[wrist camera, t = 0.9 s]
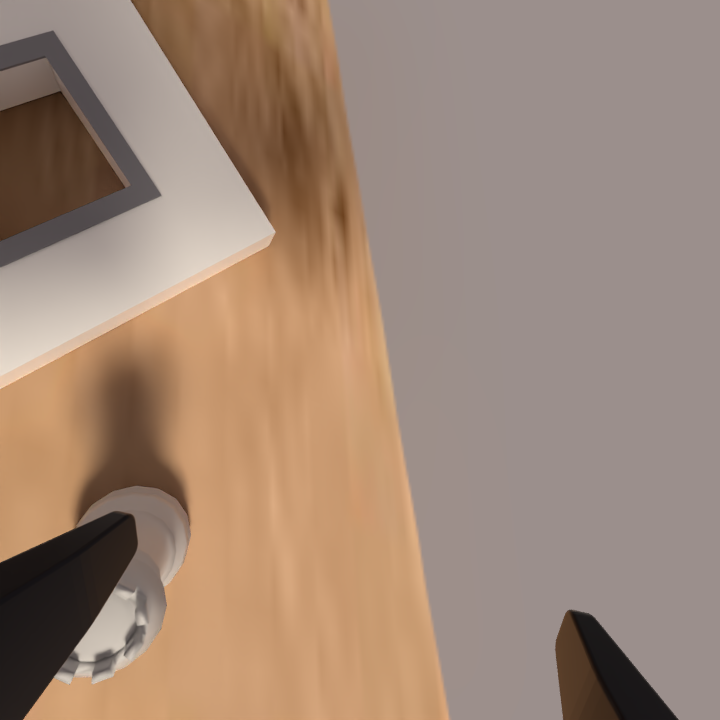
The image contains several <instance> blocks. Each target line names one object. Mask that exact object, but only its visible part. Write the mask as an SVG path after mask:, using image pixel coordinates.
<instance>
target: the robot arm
mask: <svg viewBox="0 0 720 720" xmlns="http://www.w3.org/2000/svg"><path fill="white" fill-rule="evenodd" d="M137 548H138V537H137V529H136V521H135V517H134V516H133V515H132V514H130V513H126V512H121V511H113V512H110V513H108V514H106V515H104V516H101V517H99V518H97V519H95V520H93V521H90V522H88V523H86V524H84V525H82V526H79V527H77V528H75V529H73V530H71V531H69V532H66V533H64V534H62V535H60V536H58V537H55V538H53V539H51V540H49V541H47V542H44V543H42V544H40V545H38V546H36V547H33V548H31V549H29V550H27V551H25V552H22V553H20V554H18V555H16V556H14V557H12V558H9V559H7V560H5V561H3V562H1V563H0V720H23V719H24V718H25V716H26V715H27V713H28V712H29V711H30V709H31V708H32V707H33V705H34V704H35V702H36V701H37V700H38V698H39V697H40V696H41V694H42V693H43V692H44V690H45V689H46V687H47V686H48V685H49V683H50V682H51V681H52V679H53V678H54V676H55V675H56V674H57V672H58V671H59V670H60V668H61V667H62V666H63V664H64V663H65V661H66V660H67V659H68V657H69V656H70V655H71V653H72V652H73V650H74V649H75V648H76V646H77V645H78V644H79V642H80V641H81V640H82V638H83V637H84V635H85V634H86V633H87V631H88V630H89V628H90V627H91V625H92V624H93V623H94V621H95V619H96V618H97V616H98V615H99V613H100V612H101V610H102V608H103V607H104V605H105V603H106V602H107V600H108V598H109V597H110V595H111V593H112V592H113V590H114V588H115V587H116V585H117V584H118V582H119V580H120V579H121V577H122V575H123V574H124V572H125V570H126V569H127V567H128V565H129V564H130V562H131V560H132V559H133V557H134V555H135V553H136V551H137ZM555 647H556V648H555V651H556V661H557V669H558V678H559V687H560V696H561V704H562V713H563V720H678V718H677V717H676V716H675V715H674V713H673V712H672V711H671V710H670V709H669V707H668V706H667V705H666V704H665V703H664V701H663V700H662V699H661V698H660V696H659V695H658V694H657V693H656V692H655V690H654V689H653V688H652V687H651V686H650V684H649V683H648V682H647V681H646V679H645V678H644V677H643V676H642V675H641V673H640V672H639V671H638V670H637V668H636V667H635V666H634V665H633V664H632V662H631V661H630V660H629V659H628V657H626V655H625V654H624V653H623V651H622V650H621V649H620V648H619V647H618V645H617V644H616V643H615V642H614V640H613V639H612V638H611V637H610V636H609V635H608V633H607V632H606V631H605V630H604V628H603V627H602V626H601V625H600V624H599V622H598V621H597V620H596V619H595V618H594V617H593V616H592V615H590V614H589V613H585V612H580V611H576V610H568V611H567V612H566V614H565V616H564V619H563V622H562V625H561V627H560V630H559V633H558V636H557V639H556V646H555Z"/></svg>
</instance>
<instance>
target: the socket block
mask: <svg viewBox="0 0 720 720" xmlns="http://www.w3.org/2000/svg"><path fill="white" fill-rule="evenodd" d="M59 91H61V92H62V94H63V95H64V96H65V98H66V99H67V101H68V102H69V104H70V105H71V107H72V108H73V110H74V111H75V113H76V114H77V116H78V117H79V119H80V120H81V122H82V123H83V125H84V126H85V128H86V129H87V131H88V132H89V134H90V135H91V137H92V138H93V140H94V141H95V143H96V144H97V146H98V147H99V149H100V150H101V152H102V153H103V155H104V156H105V158H106V159H107V161H108V162H109V164H110V165H111V167H112V168H113V170H114V171H115V173H116V174H117V176H118V177H119V179H120V180H121V182H122V183H123V185H124V186H125V188H124V189H122V190H119V191H117V192H115V193H112V194H110V195H108V196H105V197H103V198H101V199H98V200H96V201H94V202H91V203H89V204H87V205H84V206H82V207H80V208H77V209H75V210H72V211H70V212H68V213H65V214H63V215H61V216H58V217H56V218H54V219H51V220H49V221H47V222H44V223H42V224H40V225H37V226H35V227H33V228H30V229H28V230H26V231H23V232H21V233H18V234H16V235H14V236H11V237H9V238H7V239H4V240H2V241H0V389H2V388H3V387H5V386H7V385H9V384H11V383H13V382H15V381H17V380H18V379H20V378H22V377H24V376H26V375H28V374H30V373H32V372H33V371H35V370H37V369H39V368H41V367H43V366H45V365H47V364H48V363H50V362H52V361H54V360H56V359H58V358H60V357H62V356H63V355H65V354H67V353H69V352H71V351H73V350H75V349H77V348H78V347H80V346H82V345H84V344H86V343H88V342H90V341H92V340H93V339H95V338H97V337H99V336H101V335H103V334H105V333H107V332H108V331H110V330H112V329H114V328H116V327H118V326H120V325H122V324H123V323H125V322H127V321H129V320H131V319H133V318H135V317H137V316H138V315H140V314H142V313H144V312H146V311H148V310H150V309H152V308H153V307H155V306H157V305H159V304H161V303H163V302H165V301H167V300H168V299H170V298H172V297H174V296H176V295H178V294H180V293H182V292H183V291H185V290H187V289H189V288H191V287H193V286H195V285H197V284H198V283H200V282H202V281H204V280H206V279H208V278H210V277H212V276H213V275H215V274H217V273H219V272H221V271H223V270H225V269H227V268H228V267H230V266H232V265H234V264H236V263H238V262H240V261H242V260H243V259H245V258H247V257H249V256H251V255H253V254H255V253H257V252H258V251H260V250H262V249H264V248H266V247H268V246H269V244H270V242H271V240H272V238H273V236H274V234H275V230H274V229H273V227H272V225H271V224H270V222H269V221H268V219H267V217H266V216H265V214H264V213H263V211H262V209H261V208H260V206H259V205H258V203H257V201H256V200H255V198H254V197H253V195H252V193H251V192H250V190H249V189H248V187H247V185H246V184H245V182H244V181H243V179H242V177H241V176H240V174H239V173H238V171H237V169H236V168H235V166H234V165H233V163H232V161H231V160H230V158H229V157H228V155H227V153H226V152H225V150H224V149H223V147H222V146H221V144H220V142H219V141H218V139H217V138H216V136H215V134H214V133H213V131H212V130H211V128H210V126H209V125H208V123H207V122H206V120H205V118H204V117H203V115H202V114H201V112H200V110H199V109H198V107H197V106H196V104H195V102H194V101H193V99H192V98H191V96H190V94H189V93H188V91H187V90H186V88H185V86H184V85H183V83H182V82H181V80H180V78H179V77H178V75H177V74H176V72H175V70H174V69H173V67H172V66H171V64H170V62H169V61H168V59H167V58H166V56H165V54H164V53H163V51H162V50H161V48H160V47H159V45H158V43H157V42H156V40H155V39H154V37H153V35H152V34H151V32H150V31H149V29H148V27H147V26H146V24H145V23H144V21H143V19H142V18H141V16H140V15H139V13H138V11H137V10H136V8H135V7H134V5H133V3H132V2H131V0H0V111H1V110H4V109H8V108H11V107H14V106H17V105H20V104H23V103H26V102H29V101H32V100H35V99H38V98H41V97H44V96H47V95H50V94H53V93H56V92H59Z"/></svg>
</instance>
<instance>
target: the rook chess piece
mask: <svg viewBox="0 0 720 720" xmlns="http://www.w3.org/2000/svg"><path fill="white" fill-rule="evenodd" d="M113 511H121V512H126V513H130V514H132V515H133V516H134V517H135V521H136V529H137V537H138V548H137V551H136V553H135V555H134V557H133V559H132V560H131V562H130V564H129V565H128V567H127V569H126V570H125V572H124V574H123V575H122V577H121V579H120V580H119V582H118V584H117V585H116V587H115V588H114V590H113V592H112V593H111V595H110V597H109V598H108V600H107V602H106V603H105V605H104V607H103V608H102V610H101V612H100V613H99V615H98V616H97V618H96V619H95V621H94V623H93V624H92V625H91V627H90V628H89V630H88V631H87V633H86V634H85V635H84V637H83V638H82V640H81V641H80V642H79V644H78V645H77V646H76V648H75V649H74V650H73V652H72V653H71V655H70V656H69V657H68V659H67V660H66V661H65V663H64V664H63V666H62V667H61V668H60V670H59V671H58V672H57V674H56V675H55V676H54V678H55V679H57V680H60V681H62V682H64V683H67V684H69V685H70V683H71V681H72V679H73V677H92V684H94V683H97V682H100V681H103V680H105V679H108V678H111V677H113V676H114V673H115V671H117V670H120V669H122V668H125V667H126V666H127V665H129V664H130V663H131V662H132V661H134V660H135V659H136V658H138V657H139V656H140V655H141V654H143V653H144V652H145V651H146V650H147V649H148V647H149V646H150V644H151V643H152V641H153V640H154V638H155V637H156V635H157V634H158V632H159V631H160V630H161V627H162V623H163V619H164V615H165V611H166V606H167V604H166V598H165V592H164V587H165V586H166V585H167V584H169V583H170V582H171V580H172V579H173V578H174V576H175V575H176V573H177V572H178V570H179V569H180V567H181V566H182V564H183V563H184V559H185V556H186V553H187V549H188V545H189V541H190V536H191V533H190V527H189V521H188V515H187V514H186V512H185V511H184V509H183V508H182V506H181V505H180V504H179V502H178V501H177V499H176V498H174V497H172V496H170V495H169V494H167V493H165V492H164V491H162V490H160V489H158V488H151V487H143V486H133V487H128V488H124V489H120V490H116V491H112V492H111V493H109V494H108V495H106V496H105V497H103V498H101V499H100V500H98V501H97V502H95V503H94V504H92V505H91V507H90V508H89V509H88V510H87V512H86V513H85V514H84V516H83V517H82V518H81V520H80V521H79V522H78V523H77V526H76V528H77V527H79V526H82V525H84V524H86V523H88V522H90V521H93V520H95V519H97V518H99V517H101V516H104V515H106V514H108V513H110V512H113Z"/></svg>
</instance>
